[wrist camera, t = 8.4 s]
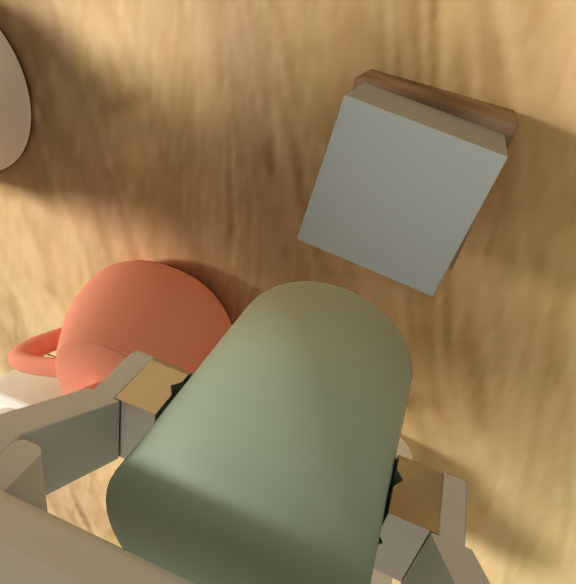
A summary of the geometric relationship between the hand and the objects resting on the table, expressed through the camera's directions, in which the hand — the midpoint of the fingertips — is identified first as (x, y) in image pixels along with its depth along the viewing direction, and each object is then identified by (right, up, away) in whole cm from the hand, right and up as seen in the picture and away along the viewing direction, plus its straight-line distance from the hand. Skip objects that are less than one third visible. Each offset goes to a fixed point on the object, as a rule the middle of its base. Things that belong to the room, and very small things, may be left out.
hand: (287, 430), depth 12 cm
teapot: (-10, 0, +36) cm, 37 cm away
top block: (+7, +10, +18) cm, 22 cm away
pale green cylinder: (+1, +1, +2) cm, 3 cm away
